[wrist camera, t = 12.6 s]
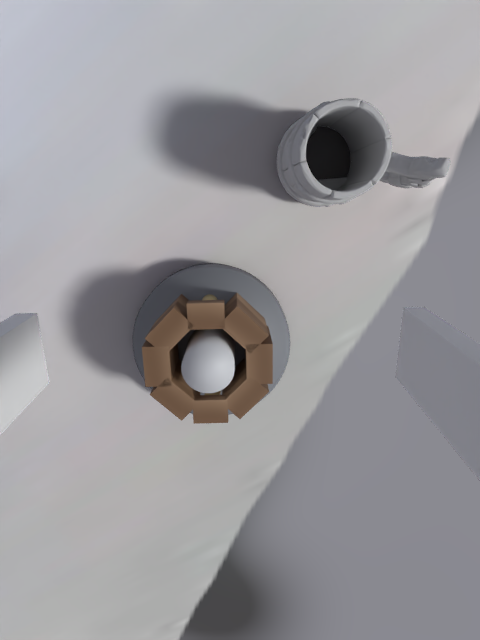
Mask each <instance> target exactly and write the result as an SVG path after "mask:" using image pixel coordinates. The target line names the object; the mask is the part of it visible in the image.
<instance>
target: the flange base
mask: <svg viewBox="0 0 480 640" xmlns="http://www.w3.org/2000/svg"><path fill="white" fill-rule="evenodd" d="M236 293H238V294H239V295H240V296H241V297H242V298H244V299H245V300H246V301H247V302H248V303H249V304H250V305H251V306H252V307H253V308H254V309H255V310H256V311H257V312H259V313H260V314H261V315H262V316H263V317H264V318H265V321H266V325H267V326H268V327H269V331H270V335H271V339H272V343H273V384H268V389H269V392H268V393H267V394H266V395H265V396H264V397H266V396H267V395H268V394H269V393H270V392H271V391H272V390H273V389H274V387H275V386H276V384H277V383H278V382H279V380H280V378H281V377H282V375H283V373H284V370H285V368H286V365H287V362H288V358H289V352H290V334H289V329H288V324H287V321H286V318H285V315H284V313H283V311H282V308H281V306H280V304H279V302H278V300H277V299H276V297H275V296H274V295H273V293H272V292H271V291H270V290H269V289H268V287H267V286H266V285H265V284H264V283H262V282H261V281H260V280H259V279H258V278H256V277H254V276H253V275H251V274H250V273H248V272H246V271H243V270H241V269H239V268H235V267H232V266H228V265H222V264H200V265H196V266H191V267H188V268H185V269H182V270H180V271H178V272H176V273H174V274H172V275H171V276H169V277H168V278H167V279H165V280H164V281H163V282H162V283H161V284H159V285H158V286H157V287H156V288H155V290H154V291H153V292H152V293H151V294H150V296H149V297H148V298H147V299H146V300H145V302H144V304H143V305H142V307H141V309H140V311H139V313H138V316H137V318H136V322H135V325H134V331H133V351H134V357H135V360H136V363H137V367H138V369H139V371H140V373H141V375H142V377H143V378H144V380H145V376H144V366H143V355H142V346H143V344H144V343H145V341H146V339H145V337H146V336H147V334H148V333H149V331H150V329H151V328H152V326H153V325H154V323H155V322H156V320H157V319H158V318H159V317H160V316H161V315H162V314H163V313H164V312H165V311H166V310H167V309H168V308H169V307H170V305H171V304H172V303H173V302H174V301H175V300H176V299H177V298H178V297H179V296H180V295H181V294H182V295H184V296H185V297H186V298H187V299H188V300H189V301H192V300H224V304H226V303H227V302H228V301H229V300H230V299H231V298H232V297H233V296H234V295H235V294H236ZM178 354H179V359H180V360H181V361H182V365H181V371H182V376H183V378H184V380H185V382H186V383H187V384H188V385H189V386H190V387H191V388H193V389H194V390H196V391H198V392H201V393H200V395H222V390H223V389H224V388H225V387H227V386H228V385H229V384H230V382H231V381H232V379H233V376H234V371H235V367H236V366H237V365H238V364H239V363H240V362H241V361H242V360H243V359H244V358H245V348H243V347H242V346H241V345H240V344H239V343H238V342H237V341H236V340H235V339H233V338H232V337H231V336H230V335H229V334H228V333H227V332H226V331H224V330H223V329H200V330H190V331H189V332H188V333H187V334H186V335H185V336H184V337H183V338H182V339H181V340H180V341H179V342H178ZM150 388H151V389H153V387H150ZM264 397H263V398H264ZM263 398H262V399H263ZM262 399H261V400H262ZM261 400H260V401H261ZM190 413H192V414H193V410H192V411H191V412H190ZM228 414H233V413H232V412H231V411H230V410H229V409H228Z"/></svg>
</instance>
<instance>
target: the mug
mask: <svg viewBox="0 0 480 640" xmlns="http://www.w3.org/2000/svg"><path fill="white" fill-rule="evenodd" d="M314 126H315V127H314ZM318 126H324V127H329V128H331V129H333V130H335V131H337V132H338V133H340V134H341V135H342V136H343V138H344V139H345V141H346V142H347V144H348V147H349V152H350V157H351V164H350V169H349V172H348V175H347V177H343V178H332V179H321V180H316V179H315V177H314V176H313V175H312V173H311V171H310V169H309V167H308V164H307V161H306V145H307V142H308V140H309V139H310V137H311V136H312V134H313V133H314V131H315V130H316V128H317V127H318ZM313 127H314V128H313ZM312 128H313V129H312ZM390 137H391V133H390V131H389V127H388V124H387V122H386V120H385V118H384V117H383V115H382V114H381V112H380V111H379V110H378V109H377V108H375V107H374V106H373V105H371V104H370V103H368V102H366V101H363V100H362V101H361V100H360V99H351V98H348V99H339V100H335V101H332V102H329V101H328V102H324V103H322V104H320V105H319V106H317V107H316V108H314V109H312V110H311V111H309V112H308V113H307V114H306V115H305V116H304V117H302V118H300V119H299V120H297V121H296V122H295V123H294V124H293V125H292V126H291V127H290V128H289V129H288V130H287V132H286V133H285V134H284V136H283V138H282V140H281V142H280V144H279V146H278V153H277V171H278V175H279V179H280V181H281V183H282V185H283V187H284V188H285V190H286V192H287V193H288V194H289V195H291V196H292V197H293V198H294V199H296V200H297V201H299V202H301V203H303V204H306V205H310V206H315V207H321V206H326V207H328V206H331V205H333V204H344V203H347V202H348V201H350V200H352V199H354V198H356V197H357V196H359V195H361V194H363V193H365V192H367V191H368V190H370V189H371V188H372V187H373V185H374V184H376V183H377V182H378V181H382V182H385V183H389V184H390V185H393V186H396V187H401V188H412V187H416V188H423V187H426V186H428V185H429V184H430V182H431V181H432V180H433V179H435V178H442V177H445V176H446V175H447V172H448V170H449V166H450V163H451V161H450V158H438V159H436V158H431V157H408V156H405V155H401V154H397V153H394V152H392V140H391V138H390Z"/></svg>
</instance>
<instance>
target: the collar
mask: <svg viewBox="0 0 480 640" xmlns="http://www.w3.org/2000/svg"><path fill="white" fill-rule="evenodd" d="M200 329H223V330H224V331H226V332H227V333H228V334H229V335H230V336H231V337H232V338H233V339H235V340H236V341H237V342H238V343H239V344H240V345H241V346H242V347H243V348H245V358H244V359H243V360H242V361H241V362H240V363H239V364H238V365H237V366H236V367H235V371H234V376H233V379H232V381H231V382H230V384H229V385H228V386H227V387H225V388H224V389H223V390H222V395H200V393H201V392H198V391H196V390H194V389H193V388H191V387H190V386H189V385H188V384H187V383H186V382H185V380H184V378H183V376H182V371H181V365H182V361H181V360H180V359H179V354H178V342H179V341H180V340H181V339H182V338H183V337H184V336H185V335H186V334H187V333H188V332H189V331H190V330H200ZM145 339H146V341H145V343H144V344H143V346H142V355H143V366H144V376H145V387H153V389H152V391H151V393H150V395H151V396H152V397H153V398H154V399H156V400H157V401H158V402H159V403H161V404H162V405H163V406H164V407H166V408H167V409H168V410H169V411H170V412H172V413H173V414H174V415H175V416H177V417H178V418H179V419H180V420H183V419H184V418H185V417H186V416H187V415H188V414H189V413H190V412H191V411H192V410H193V419H194V423H228V409H229V410H230V411H231V412H232V413H233V414H235V415H236V416H237V417H238V418H239V419H241V418H242V417H243V416H244V415H245V414H246V413H247V412H248V411H249V410H250V409H251V408H252V407H253V406H254V405H256V404H257V403H258V402H259V401H260V400H261V399H262V398H263V397H264V396H265V395H266V394H267V393H268V392H269V389H268V384H273V343H272V339H271V335H270V331H269V327H268V326H267V325H266V321H265V318H264V317H263V316H262V315H261V314H260V313H259V312H257V311H256V310H255V309H254V308H253V307H252V306H251V305H250V304H249V303H248V302H247V301H246V300H245V299H244V298H242V297H241V296H240V295H239V294H238V293H236V294H235V295H234V296H233V297H232V298H231V299H230V300H229V301H228V302H227V303H226V304H224V300H192V301H189V300H188V299H187V298H186V297H185V296H184V295H182V294H181V295H180V296H179V297H178V298H177V299H176V300H175V301H174V302H173V303H172V304H171V305H170V307H169V308H168V309H167V310H166V311H165V312H164V313H163V314H162V315H161V316H160V317H159V318H158V319H157V320H156V322H155V323H154V325H153V326H152V328H151V329H150V331H149V333H148V334H147V336H146V337H145Z"/></svg>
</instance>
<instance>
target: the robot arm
mask: <svg viewBox="0 0 480 640" xmlns="http://www.w3.org/2000/svg"><path fill="white" fill-rule="evenodd" d="M395 377H396V378H397V380H398V381H399V382H400V383H401V385H402V386H403V387H404V388H405V390H406V391H407V392H408V393H409V394H410V396H411V397H412V398H413V399H414V401H415V402H416V403H417V404H418V406H419V407H420V408H421V409H422V410H423V412H424V413H425V414H426V415H427V417H428V418H429V419H430V420H431V422H432V423H433V424H434V425H435V426H436V428H437V429H438V430H439V431H440V433H441V434H442V435H443V436H444V438H445V439H446V440H447V441H448V442H449V444H450V445H451V446H452V447H453V449H454V450H455V451H456V452H457V454H458V455H459V456H460V457H461V459H462V460H463V461H464V462H465V463H466V465H467V466H468V467H469V468H470V469H471V471H472V472H473V473H474V475H475V476H476V477H477V478H478V479H479V481H480V343H478V342H477V341H475V340H474V339H472V338H471V337H469V336H468V335H466V334H465V333H463V332H462V331H460V330H459V329H457V328H456V327H454V326H452V325H451V324H450V323H448V322H446V321H445V320H443V319H442V318H440V317H439V316H437V315H436V314H434V313H433V312H431V311H430V310H428V309H427V308H425V307H404V308H403V315H402V323H401V333H400V341H399V349H398V358H397V366H396V375H395ZM49 383H50V382H49V377H48V371H47V366H46V360H45V355H44V349H43V344H42V338H41V333H40V327H39V322H38V316H37V313H25V314H14V315H12V316H11V317H9V318H7V319H6V320H4V321H2V322H1V323H0V435H1V434H2V433H3V432H4V430H5V429H6V428H7V427H8V426H9V425H10V424H11V423H12V422H13V421H14V420H15V419H16V418H17V417H18V416H19V415H20V413H21V412H22V411H23V410H24V409H25V408H26V407H27V406H28V405H29V404H30V403H31V402H32V401H33V400H34V399H35V397H36V396H37V395H38V394H39V393H40V392H41V391H42V390H43V389H44V388H45V387H46V386H47V385H48V384H49Z"/></svg>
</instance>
